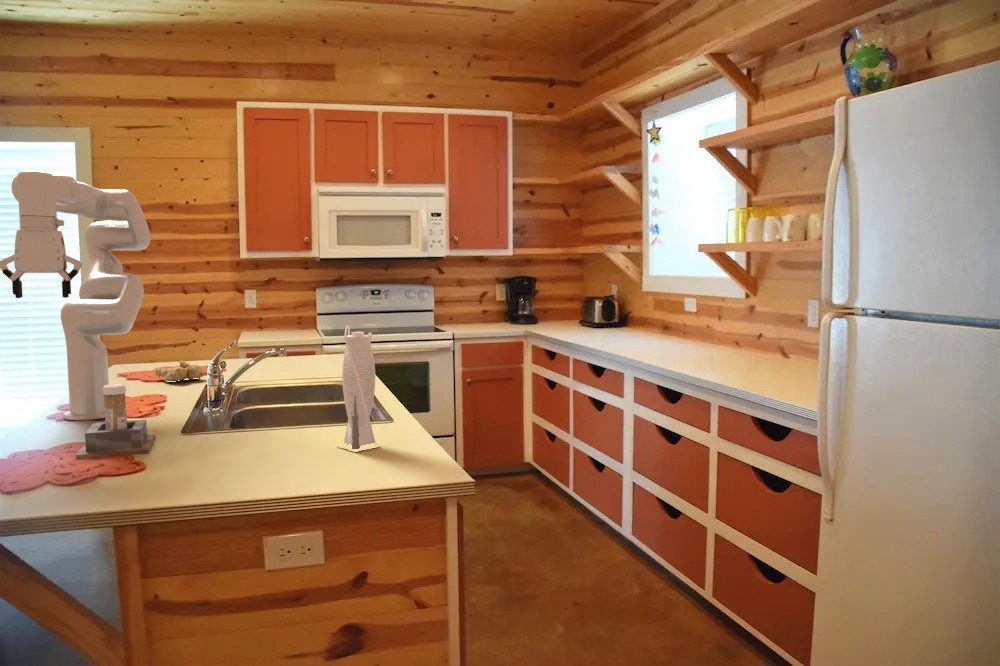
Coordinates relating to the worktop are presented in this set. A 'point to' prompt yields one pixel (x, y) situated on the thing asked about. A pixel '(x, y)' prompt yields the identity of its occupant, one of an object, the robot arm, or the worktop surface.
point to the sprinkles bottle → (115, 406)
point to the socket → (116, 440)
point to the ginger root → (180, 372)
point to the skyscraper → (358, 387)
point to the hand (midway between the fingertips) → (42, 297)
